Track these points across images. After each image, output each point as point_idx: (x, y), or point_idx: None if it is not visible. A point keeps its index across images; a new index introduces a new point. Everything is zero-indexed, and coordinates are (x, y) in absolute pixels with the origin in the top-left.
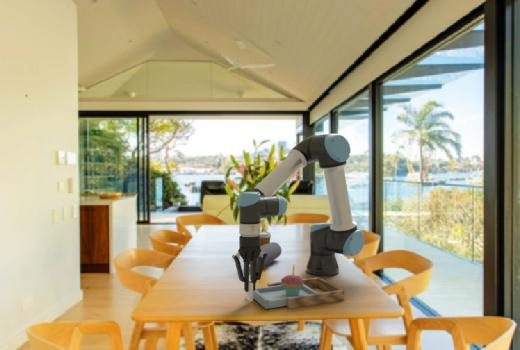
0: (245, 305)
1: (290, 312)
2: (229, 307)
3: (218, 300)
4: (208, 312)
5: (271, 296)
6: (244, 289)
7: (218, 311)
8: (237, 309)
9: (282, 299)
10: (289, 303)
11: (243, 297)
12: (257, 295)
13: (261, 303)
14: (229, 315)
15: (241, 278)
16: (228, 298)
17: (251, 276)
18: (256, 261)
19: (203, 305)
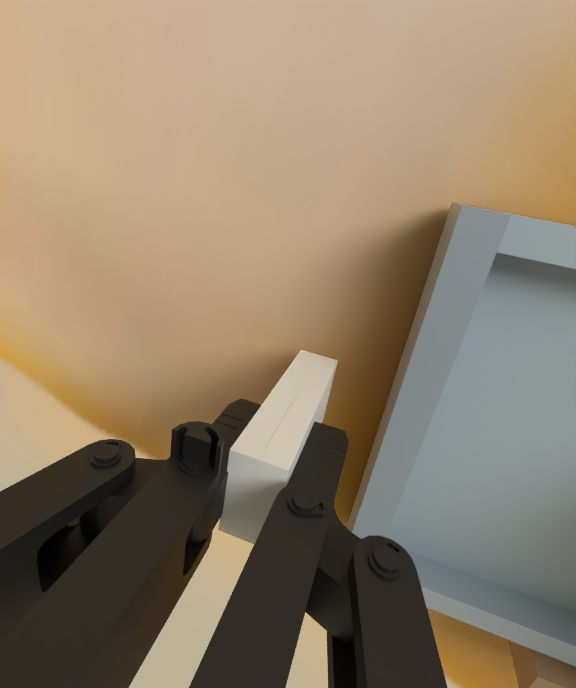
0: (275, 371)
1: (457, 640)
2: (160, 331)
3: (132, 130)
4: (26, 321)
5: (561, 443)
6: (227, 412)
7: (80, 345)
8: (193, 394)
9: (495, 633)
10: (516, 654)
11: (371, 187)
12: (384, 427)
13: (364, 476)
14: (120, 434)
15: (66, 550)
16: (228, 127)
17: (268, 554)
18: None
19: (11, 179)
